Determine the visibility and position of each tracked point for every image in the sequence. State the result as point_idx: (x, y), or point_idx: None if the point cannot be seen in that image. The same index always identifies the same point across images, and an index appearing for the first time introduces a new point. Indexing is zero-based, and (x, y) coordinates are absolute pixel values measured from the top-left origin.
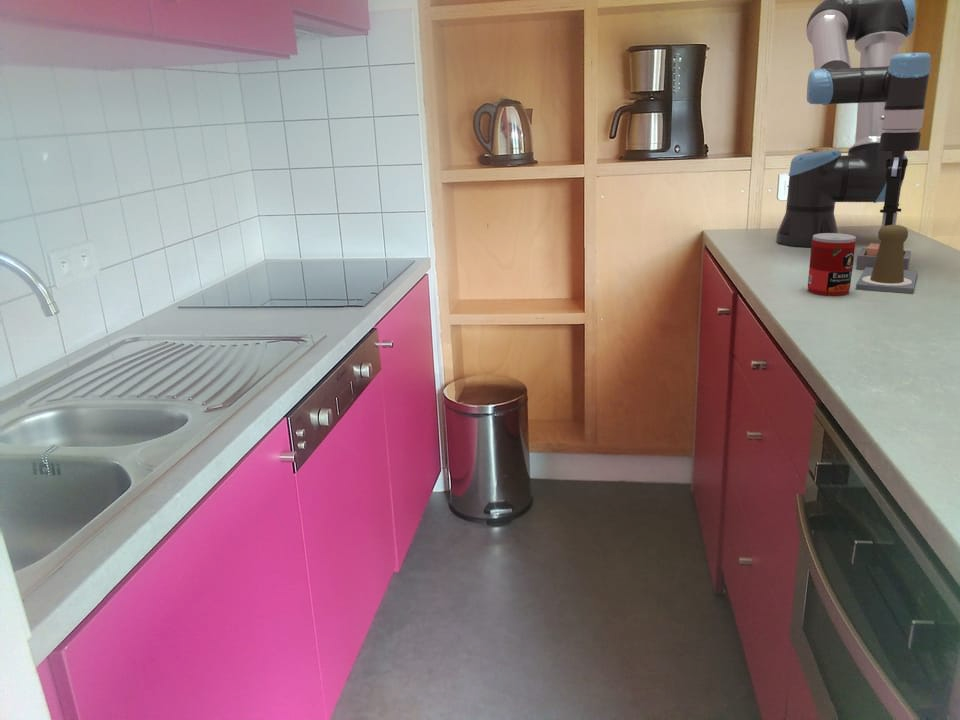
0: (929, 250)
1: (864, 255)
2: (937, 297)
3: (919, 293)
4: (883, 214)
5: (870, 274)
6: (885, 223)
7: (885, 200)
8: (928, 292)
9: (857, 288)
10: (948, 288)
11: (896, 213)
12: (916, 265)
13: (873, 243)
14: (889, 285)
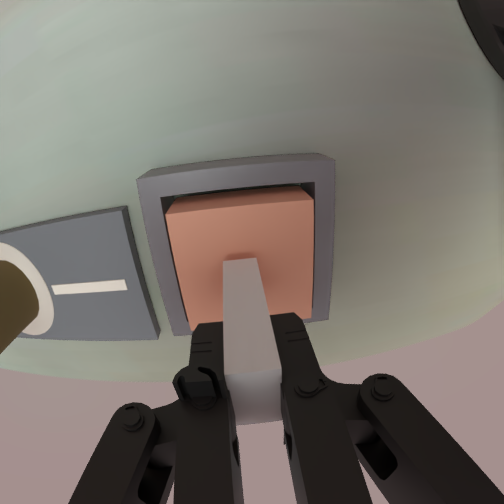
0: (481, 291)
1: (156, 201)
2: (17, 358)
3: (16, 338)
4: (224, 366)
5: (38, 248)
6: (192, 343)
7: (87, 473)
8: (31, 350)
9: None
10: (80, 376)
11: (236, 421)
12: None
13: (311, 214)
14: None
